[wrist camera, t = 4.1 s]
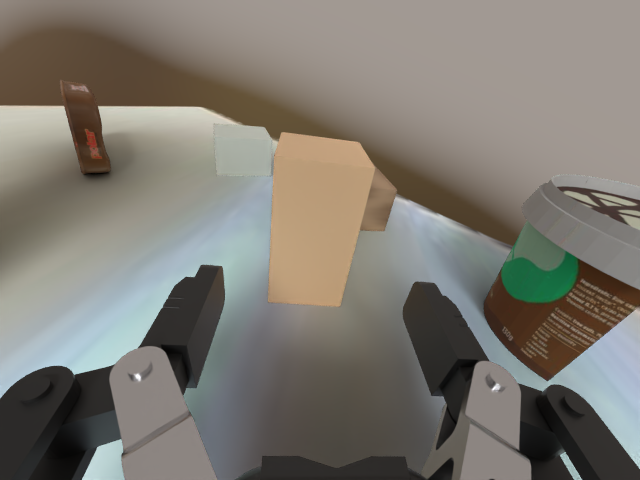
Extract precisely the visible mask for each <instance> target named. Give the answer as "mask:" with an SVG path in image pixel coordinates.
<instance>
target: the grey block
mask: <svg viewBox="0 0 640 480" xmlns="http://www.w3.org/2000/svg"><path fill="white" fill-rule="evenodd" d="M214 147H215V160H216V172H217V176H271V163H272V139H271V137H270V136H269V134H268V132H267V131H266V129H265V127H253V126H241V125H227V124H214Z"/></svg>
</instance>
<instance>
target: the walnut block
mask: <svg viewBox="0 0 640 480" xmlns="http://www.w3.org/2000/svg"><path fill="white" fill-rule="evenodd" d="M372 164H373V163H372ZM373 165H374V164H373ZM374 167H375V172H374V175H373V179H372V183H371V187H370V191H369V195H368V199H367V203H366V207H365V211H364V215H363V219H362V223H361V227H360V230H366V231H385V227H386V224H387V221H388V218H389V215H390V211H391V208H392V205H393V202H394V199H395V196H396V192H397V189H396V188H395V187H394V186H393V185H392V184H391V183H390V182H389V181H388V180H387V178H386V177H385V176H384V175H383V174H382V173H381V172H380V171H379V170H378V168H377V167H376V166H375V165H374Z"/></svg>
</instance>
